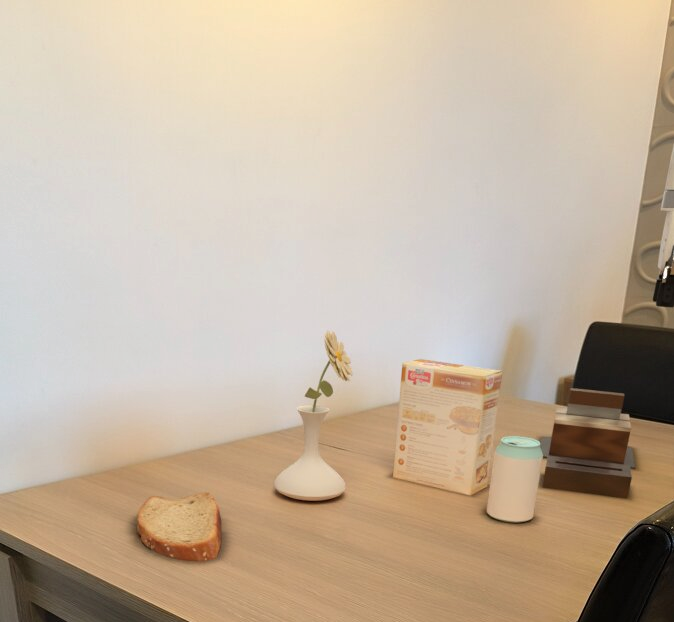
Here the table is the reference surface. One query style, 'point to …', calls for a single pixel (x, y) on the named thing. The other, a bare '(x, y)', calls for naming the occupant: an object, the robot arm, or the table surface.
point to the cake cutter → (595, 404)
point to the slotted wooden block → (587, 477)
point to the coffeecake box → (446, 425)
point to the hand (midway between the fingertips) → (662, 304)
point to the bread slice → (181, 527)
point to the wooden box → (589, 439)
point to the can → (515, 479)
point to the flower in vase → (316, 439)
